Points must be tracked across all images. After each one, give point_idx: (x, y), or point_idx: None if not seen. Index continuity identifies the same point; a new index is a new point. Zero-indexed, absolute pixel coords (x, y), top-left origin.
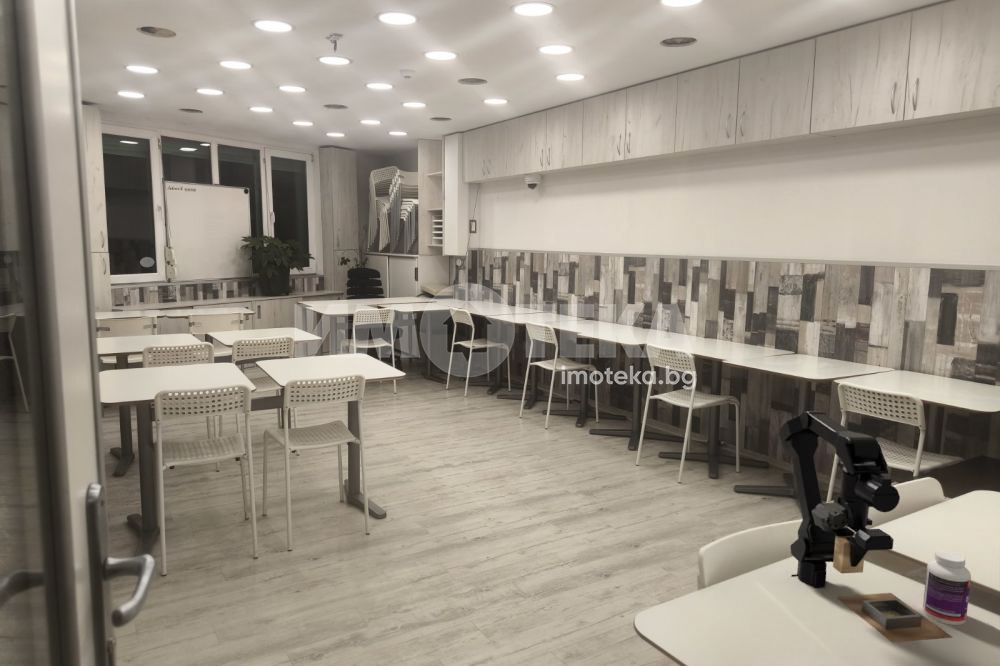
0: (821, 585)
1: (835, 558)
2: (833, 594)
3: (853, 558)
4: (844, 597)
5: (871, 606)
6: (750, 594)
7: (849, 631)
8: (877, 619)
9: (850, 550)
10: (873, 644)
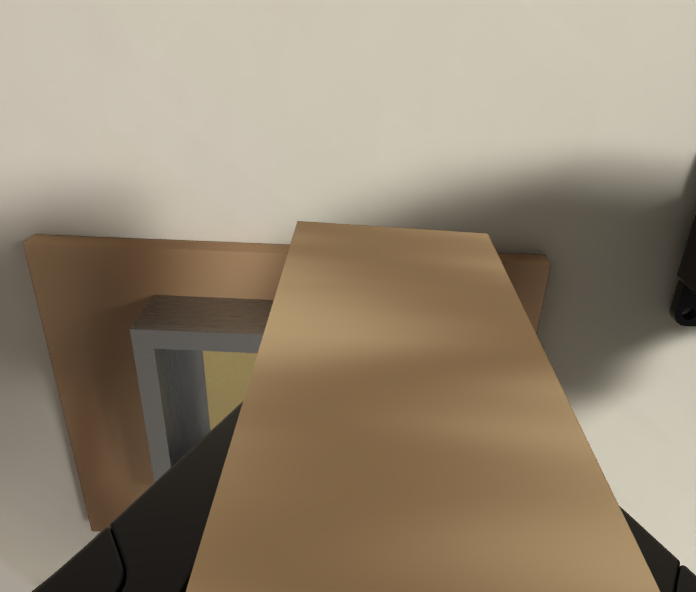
0: (692, 255)
1: (469, 296)
2: (604, 286)
3: (171, 476)
4: (524, 309)
5: None
6: None
7: (188, 87)
8: (215, 308)
9: (181, 571)
10: (44, 140)
